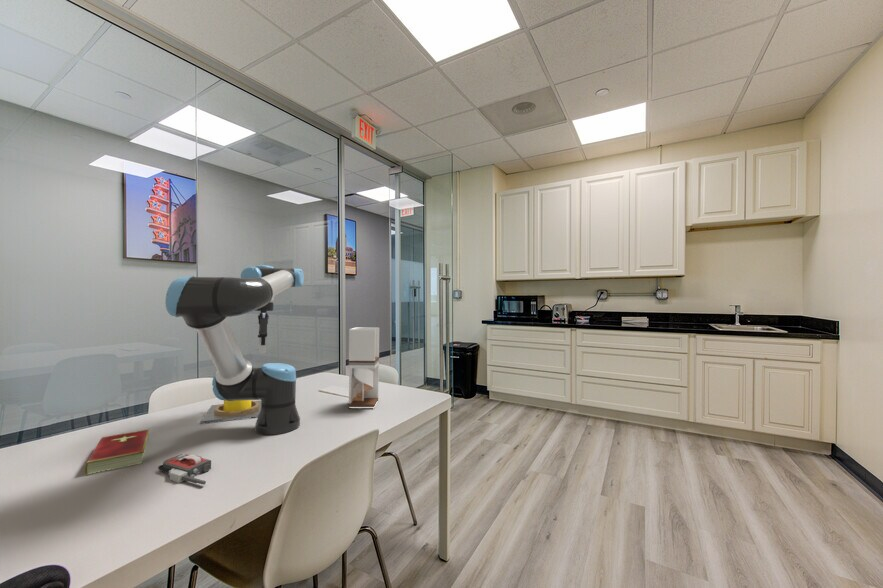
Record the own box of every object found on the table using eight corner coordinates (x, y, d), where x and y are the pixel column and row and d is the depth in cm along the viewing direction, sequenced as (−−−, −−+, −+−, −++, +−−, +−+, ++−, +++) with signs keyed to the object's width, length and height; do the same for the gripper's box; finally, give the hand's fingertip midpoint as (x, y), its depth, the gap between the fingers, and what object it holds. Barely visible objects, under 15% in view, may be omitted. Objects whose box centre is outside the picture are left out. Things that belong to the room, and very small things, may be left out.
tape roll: (254, 405, 152) (255, 383, 152) (245, 412, 142) (246, 389, 143) (229, 406, 151) (230, 384, 151) (219, 413, 141) (219, 390, 141)
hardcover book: (84, 477, 93) (84, 461, 93) (100, 449, 110) (100, 436, 110) (143, 465, 100) (143, 450, 100) (149, 441, 117) (149, 428, 117)
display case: (348, 408, 152) (349, 329, 153) (353, 401, 163) (355, 327, 163) (374, 409, 152) (375, 329, 153) (378, 402, 163) (379, 327, 164)
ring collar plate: (265, 416, 141) (265, 410, 141) (200, 423, 132) (200, 417, 132) (267, 401, 161) (267, 396, 161) (211, 407, 152) (211, 401, 152)
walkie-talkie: (149, 476, 94) (200, 490, 87) (149, 459, 94) (200, 473, 87) (182, 462, 102) (232, 474, 95) (183, 447, 102) (232, 458, 95)
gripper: (253, 302, 158) (252, 348, 157) (254, 300, 136) (252, 355, 135) (272, 302, 161) (270, 348, 160) (275, 301, 139) (273, 354, 138)
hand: (262, 351), depth 148 cm, fingers open, 13 cm apart
